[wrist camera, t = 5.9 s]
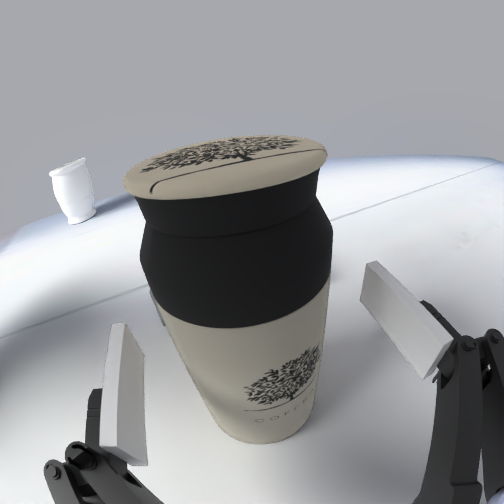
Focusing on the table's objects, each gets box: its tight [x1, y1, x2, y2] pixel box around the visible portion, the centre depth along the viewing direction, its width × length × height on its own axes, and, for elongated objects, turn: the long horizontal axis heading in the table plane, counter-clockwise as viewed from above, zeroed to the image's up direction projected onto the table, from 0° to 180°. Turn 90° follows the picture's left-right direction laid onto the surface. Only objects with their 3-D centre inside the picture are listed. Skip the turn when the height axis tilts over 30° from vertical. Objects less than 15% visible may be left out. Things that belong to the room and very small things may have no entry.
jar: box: [49, 158, 96, 225], centre depth 57 cm, size 11×10×15 cm
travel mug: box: [123, 135, 333, 444], centre depth 14 cm, size 8×8×18 cm
